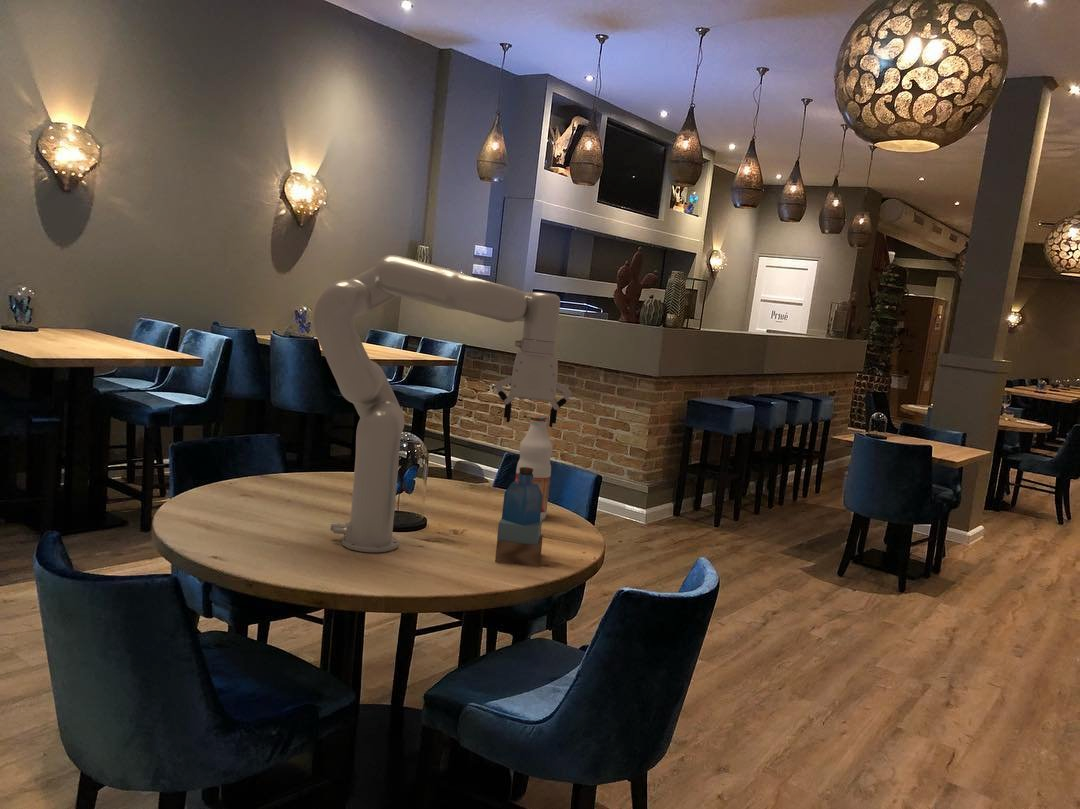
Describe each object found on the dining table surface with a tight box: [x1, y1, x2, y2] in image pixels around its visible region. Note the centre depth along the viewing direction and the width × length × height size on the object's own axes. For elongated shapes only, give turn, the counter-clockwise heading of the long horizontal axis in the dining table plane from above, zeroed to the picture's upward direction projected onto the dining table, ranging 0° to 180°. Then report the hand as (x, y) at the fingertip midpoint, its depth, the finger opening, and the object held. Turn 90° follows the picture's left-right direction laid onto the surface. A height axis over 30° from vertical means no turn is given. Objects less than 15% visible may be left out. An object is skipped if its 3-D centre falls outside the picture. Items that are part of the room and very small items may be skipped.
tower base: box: [494, 533, 544, 568], centre depth 195 cm, size 10×10×5 cm
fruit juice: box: [514, 414, 554, 521], centre depth 232 cm, size 9×9×28 cm
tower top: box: [496, 517, 543, 545], centre depth 194 cm, size 9×9×4 cm
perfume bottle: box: [501, 467, 543, 525], centre depth 194 cm, size 6×6×12 cm
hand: (529, 423), depth 192 cm, fingers open, 9 cm apart
